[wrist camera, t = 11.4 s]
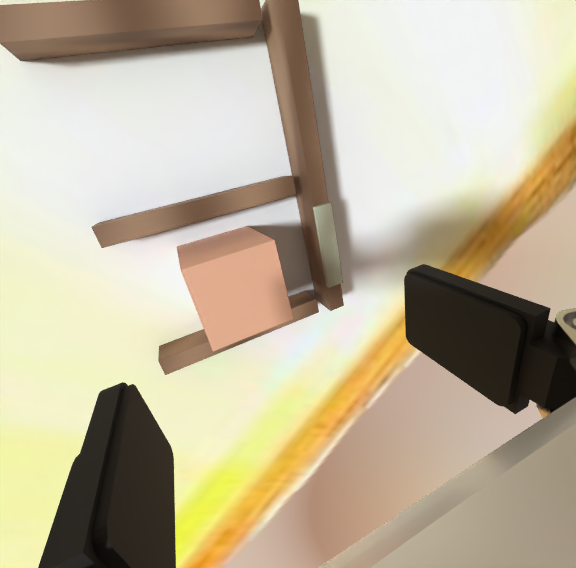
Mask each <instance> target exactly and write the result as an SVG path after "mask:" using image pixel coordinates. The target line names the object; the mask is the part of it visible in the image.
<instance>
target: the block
mask: <svg viewBox="0 0 576 568" xmlns="http://www.w3.org/2000/svg"><path fill="white" fill-rule="evenodd" d="M177 251H178V257H179V263H180V268H181V272H182V274H183V277H184V279H185V282H186V285H187V287H188V290H189V292H190V295H191V297H192V300H193V302H194V305H195V307H196V310H197V312H198V315H199V317H200V320H201V322H202V325H203V328H204V330H205V333H206V335H207V338H208V340H209V343H210V345H211V348H212V350H213V351H216V350H218V349H221V348H223V347H225V346H228V345H230V344H233V343H235V342H238V341H240V340H243V339H245V338H247V337H250V336H252V335H255V334H257V333H260V332H262V331H265V330H267V329H270V328H272V327H274V326H277V325H279V324H282V323H284V322H287V321H289V320H292V319H293V315H292V311H291V307H290V303H289V298H288V294H287V290H286V286H285V282H284V277H283V273H282V269H281V265H280V261H279V256H278V252H277V248H276V244H275V240H273V239H271V238H269V237H268V236H266V235H264V234H262V233H260V232H258V231H256V230H254V229H252V228H250V227H248V226H245V227H242V228H238V229H235V230H232V231H228V232H225V233H221V234H218V235H215V236H211V237H208V238H204V239H201V240H198V241H194V242H191V243H188V244H184V245H181V246H177Z"/></svg>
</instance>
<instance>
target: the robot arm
mask: <svg viewBox="0 0 576 568" xmlns="http://www.w3.org/2000/svg"><path fill="white" fill-rule="evenodd" d="M404 286H405V324H406V338H407V340H408V342H409V343H410V344H411V345H412V346H414V347H415V348H417V349H418V350H420V351H421V352H423V353H424V354H425V355H427V356H428V357H430V358H431V359H432V360H434V361H435V362H437V363H438V364H440V365H441V366H443V367H444V368H445V369H447V370H448V371H450V372H451V373H453V374H454V375H455V376H457V377H458V378H460V379H461V380H463V381H464V382H465V383H467V384H468V385H470V386H471V387H473V388H474V389H475V390H477V391H478V392H480V393H481V394H482V395H484V396H485V397H487V398H488V399H490V400H491V401H492V402H494V403H495V404H497V405H499V406H504V407H506V408H507V409H509V410H510V411H511V412H513V413H514V414H516V413H518V412H519V411H521V410H523V409H524V408H526V407H527V406H528V404H529V400H532V401H533V402H535V403H536V405H537V408H538V410H539V412H540V413H541V415H542V417H543V419H542V420H540V421H538V422H537V423H535V424H534V425H532V426H531V427H529V428H528V429H526V430H525V431H523V432H522V433H520V434H518V435H517V436H515V437H514V438H512V439H511V440H509V441H508V442H506V443H505V444H503V445H502V446H500V447H499V448H497V449H496V450H494V451H493V452H491V453H490V454H488V455H487V456H485V457H484V458H482V459H481V460H479V461H478V462H476V463H475V464H473V465H472V466H470V467H469V468H467V469H465V470H464V471H463V472H461V473H459V474H458V475H456V476H455V477H453V478H452V479H450V480H449V481H447V482H446V483H444V484H443V485H441V486H440V487H438V488H437V489H436V490H434V491H432V492H431V493H429V494H428V495H426V496H425V497H423V498H422V499H420V500H419V501H418V502H416V503H414V504H413V505H411V506H410V507H408V508H407V509H405V510H404V511H402V512H401V513H399V514H398V515H396V516H395V517H393V518H392V519H390V520H389V521H387V522H386V523H384V524H383V525H381V526H380V527H378V528H377V529H376V530H374V531H372V532H371V533H370V534H368V535H366V536H365V537H363V538H362V539H360V540H359V541H357V542H356V543H355V544H353V545H351V546H350V547H348V548H347V549H345V550H344V551H343V552H341V553H340V554H338V555H337V556H335V557H334V558H332V559H331V560H329V561H328V562H326V563H325V564H323V565H322V566H320V567H319V568H576V308H573V309H566V310H562V311H560V312H559V313H557V314H556V318H555V322H552V321H549V320H548V317H549V313H550V308H548V307H545V306H542V305H539V304H536V303H533V302H531V301H528V300H525V299H522V298H519V297H517V296H514V295H511V294H508V293H505V292H502V291H499V290H497V289H494V288H491V287H488V286H485V285H482V284H479V283H477V282H474V281H471V280H468V279H465V278H462V277H459V276H457V275H454V274H451V273H448V272H445V271H442V270H440V269H437V268H434V267H431V266H428V265H424V264H423V265H420V266H417V267H415V268H412V269H410V270H409V271H408V272H407V275H406V276H405V279H404ZM38 568H176V555H175V504H174V458H173V452H172V449H171V446H170V444H169V442H168V441H167V439H166V437H165V435H164V434H163V432H162V430H161V429H160V427H159V425H158V423H157V422H156V420H155V418H154V417H153V415H152V413H151V411H150V410H149V408H148V406H147V405H146V403H145V401H144V399H143V398H142V396H141V394H140V393H139V391H138V389H137V388H136V386H135V385H134V384H132V385H129V386H128V385H127V384H126V383H120V384H118V385H115V386H113V387H110V388H107V389H105V390H102V391H101V392H100V393H99V395H98V398H97V402H96V405H95V408H94V411H93V414H92V417H91V421H90V424H89V427H88V430H87V433H86V436H85V440H84V443H83V446H82V449H81V452H80V454H79V455H78V456H77V457H76V458H75V460H74V462H73V464H72V467H71V470H70V473H69V476H68V479H67V482H66V485H65V488H64V491H63V494H62V497H61V500H60V503H59V506H58V509H57V512H56V515H55V518H54V521H53V525H52V528H51V531H50V534H49V537H48V540H47V543H46V546H45V549H44V552H43V555H42V558H41V561H40V564H39V567H38Z"/></svg>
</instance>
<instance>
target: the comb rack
mask: <svg viewBox="0 0 576 568" xmlns="http://www.w3.org/2000/svg"><path fill="white" fill-rule="evenodd" d="M262 21H263V26H264V31H265V37H266V42H267V47H268V52H269V57H270V63H271V68H272V73H273V78H274V83H275V88H276V94H277V99H278V104H279V109H280V114H281V120H282V125H283V130H284V135H285V140H286V146H287V151H288V156H289V161H290V166H291V172H292V176H282V177H278V178H274V179H270V180H266V181H262V182H258V183H254V184H250V185H246V186H242V187H238V188H234V189H230V190H226V191H222V192H218V193H214V194H210V195H207V196H203V197H199V198H195V199H191V200H187V201H183V202H179V203H175V204H171V205H167V206H163V207H159V208H155V209H151V210H147V211H143V212H139V213H135V214H131V215H127V216H123V217H119V218H115V219H111V220H108V221H104V222H100V223H98V224H96V225H94V226H92V229H93V231H94V233H95V235H96V237H97V239H98V241H99V243H100V245H101V247H102V248H104V247H108V246H112V245H115V244H119V243H122V242H126V241H130V240H133V239H137V238H141V237H144V236H148V235H151V234H155V233H159V232H162V231H166V230H170V229H173V228H177V227H180V226H184V225H188V224H191V223H195V222H199V221H202V220H206V219H210V218H213V217H217V216H220V215H224V214H228V213H231V212H235V211H239V210H242V209H246V208H249V207H253V206H257V205H260V204H264V203H268V202H271V201H275V200H278V199H282V198H286V197H289V196H293V195H296V198H297V203H298V208H299V213H300V218H301V224H302V229H303V234H304V239H305V244H306V249H307V255H308V260H309V265H310V270H311V275H312V281H313V286H314V291H315V296H316V298H315V297H313V296H312V295H311V294H309V293H308V292H307V291H303V292H300V293H298V294H295V295H292V296H290V297H288V298H289V303H290V307H291V311H292V315H293V319H292V320H289V321H287V322H284V323H282V324H279V325H277V326H274V327H272V328H270V329H267V330H265V331H262V332H260V333H257V334H255V335H252V336H250V337H247V338H245V339H243V340H240V341H238V342H235V343H233V344H230V345H228V346H225V347H223V348H221V349H218V350H216V351H213V350H212V348H211V345H210V343H209V340H208V338H207V335H206V333H205V330H204V329H203V330H201V331H198V332H195V333H193V334H190V335H188V336H185V337H182V338H180V339H177V340H175V341H172V342H169V343H167V344H164V345H161V346H159V363H160V365H161V367H162V369H163V371H164V373H165V375H167V374H169V373H172V372H174V371H177V370H179V369H181V368H184V367H186V366H189V365H191V364H194V363H196V362H198V361H201V360H203V359H206V358H208V357H211V356H213V355H216V354H218V353H220V352H223V351H225V350H228V349H230V348H233V347H235V346H237V345H240V344H242V343H245V342H247V341H250V340H252V339H254V338H257V337H259V336H262V335H264V334H267V333H269V332H272V331H274V330H276V329H279V328H281V327H284V326H286V325H289V324H291V323H293V322H296V321H298V320H301V319H303V318H306V317H308V316H311V315H313V314H315V313H318V312H319V310H318V305H317V301H319V302H320V303H321V304H322V305H324V306H325V307H326V308H328V309H329V310H330V311H332V310H334V309H337V308H339V307H341V306H344V304H343V298H342V291H341V284H340V283H343V280H342V273H341V266H340V259H339V252H338V246H337V239H336V232H335V225H334V218H333V211H332V204H331V203H329V202H328V197H327V190H326V184H325V177H324V170H323V163H322V157H321V150H320V143H319V137H318V130H317V123H316V116H315V110H314V103H313V96H312V90H311V83H310V76H309V69H308V63H307V56H306V49H305V43H304V36H303V29H302V23H301V16H300V9H299V2H298V0H266V1H265V3H264V5H263V6H262V8H261V7H260V2H259V0H84V1H66V2H48V3H31V4H13V5H0V44H1V45H2V46H4V47H5V48H6V49H7V50H8V51H10V52H11V53H12V54H13V55H14V56H15V57H17V58H18V59H19V60H20V61H24V60H33V59H43V58H53V57H62V56H72V55H82V54H92V53H101V52H111V51H121V50H130V49H140V48H150V47H159V46H169V45H179V44H189V43H198V42H208V41H218V40H227V39H237V38H247V37H253V36H254V34H255V33H256V31H257V29H258V27H259V26H260V24H261V22H262Z"/></svg>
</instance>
